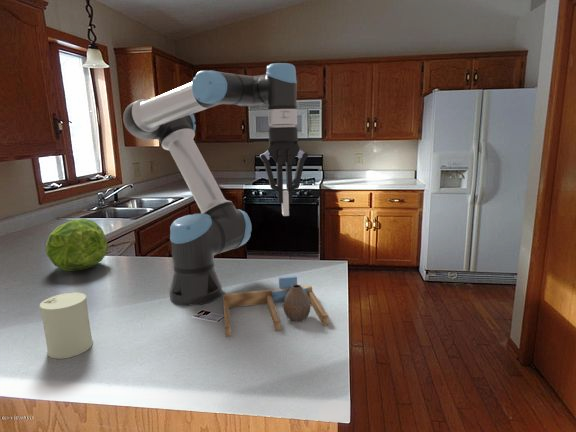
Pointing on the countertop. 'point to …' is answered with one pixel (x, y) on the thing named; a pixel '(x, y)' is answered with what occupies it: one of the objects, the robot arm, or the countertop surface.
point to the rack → (268, 304)
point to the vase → (296, 304)
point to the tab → (287, 281)
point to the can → (66, 325)
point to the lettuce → (77, 245)
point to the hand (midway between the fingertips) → (285, 214)
